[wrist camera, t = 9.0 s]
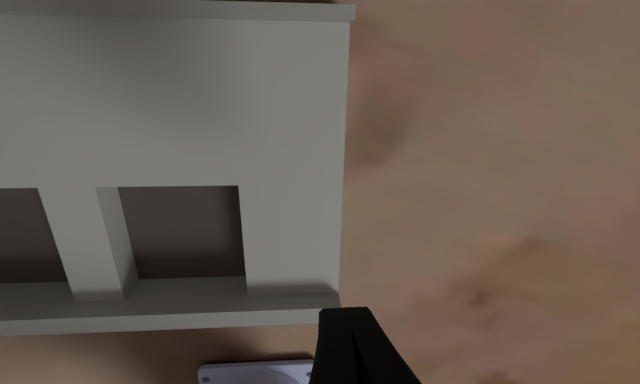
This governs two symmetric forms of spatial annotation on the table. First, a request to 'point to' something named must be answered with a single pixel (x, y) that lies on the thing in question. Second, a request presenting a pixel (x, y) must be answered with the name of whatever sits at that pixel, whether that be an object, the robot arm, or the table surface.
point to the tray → (170, 163)
